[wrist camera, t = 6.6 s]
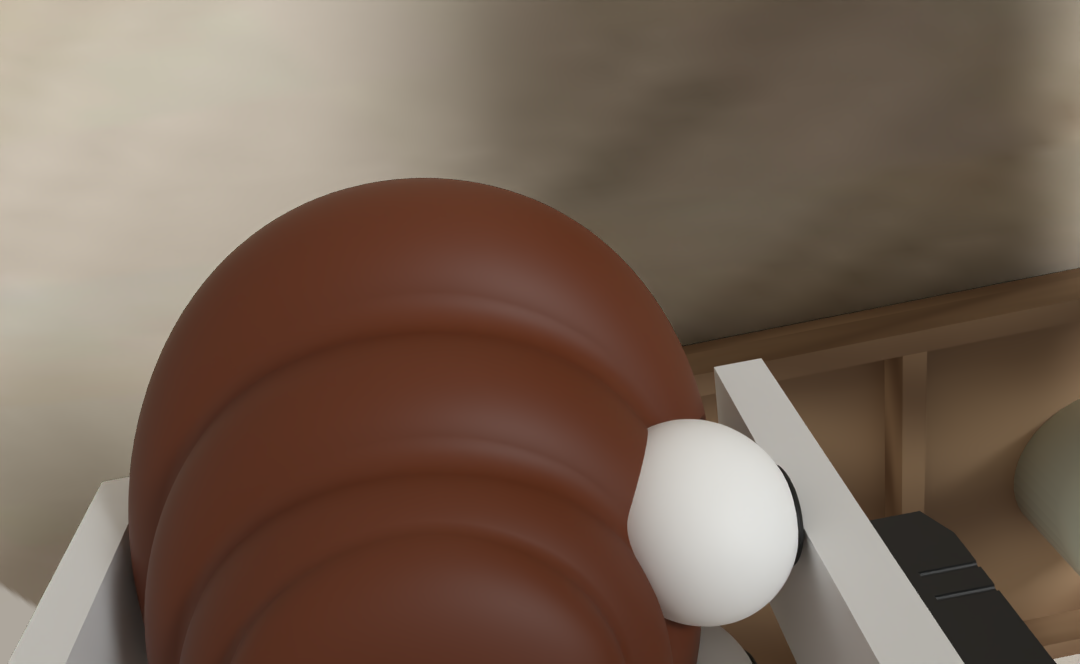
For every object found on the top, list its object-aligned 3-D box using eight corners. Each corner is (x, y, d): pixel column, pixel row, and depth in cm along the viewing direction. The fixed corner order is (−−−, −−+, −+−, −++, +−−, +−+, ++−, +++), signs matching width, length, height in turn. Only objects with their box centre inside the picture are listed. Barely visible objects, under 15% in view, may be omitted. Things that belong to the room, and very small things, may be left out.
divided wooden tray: (427, 396, 32) (427, 428, 30) (1339, 216, 33) (1392, 237, 31) (511, 728, 39) (515, 769, 37) (1260, 574, 40) (1299, 608, 38)
